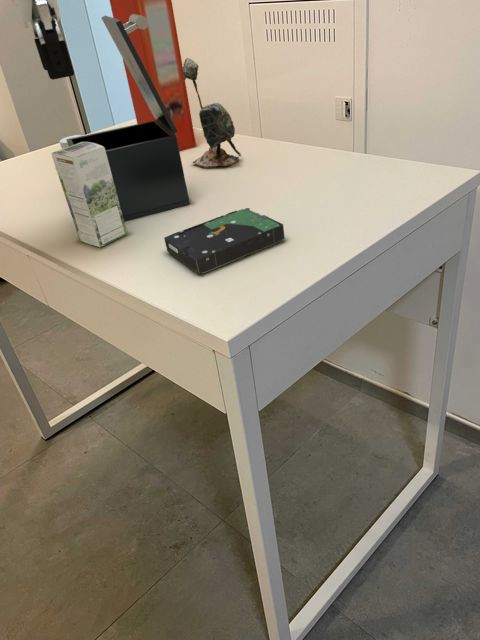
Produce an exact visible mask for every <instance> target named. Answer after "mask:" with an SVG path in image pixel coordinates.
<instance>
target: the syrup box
mask: <svg viewBox="0 0 480 640" xmlns="http://www.w3.org/2000/svg"><path fill="white" fill-rule="evenodd" d="M51 158H52V160H53V164H54V167H55V169H56V172H57V176H58V179H59V182H60V185H61V188H62V191H63V195H64V197H65V200H66V203H67V206H68V209H69V212H70V215H71V218H72V222H73V225H74V227H75V231H76V234H77V237H78V240H79V241H80V242H82V243H85V244H87V245H91V246H94V247H98V248H103V247H104V246H107V245H108V244H111V243H113V242H115V241H116V240H118V239H120V238H122V237H124V236H126V235H128V230H127V227H126V224H125V221H124V219H123V215H122V211H121V208H120V204H119V200H118V196H117V193H116V189H115V185H114V181H113V177H112V174H111V170H110V166H109V162H108V159H107V155H106V151H105V148H104V147H103V146H101V145H98V144H95V143H91V142H80V143H78V144H75V145H72V146H69V147H67V148H64V149H62V148H61V149H58V150H56V151H53V152H51Z"/></svg>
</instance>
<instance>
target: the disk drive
mask: <svg viewBox="0 0 480 640" xmlns="http://www.w3.org/2000/svg"><path fill="white" fill-rule="evenodd" d="M250 209H251V208H250V207H246V208H241V209H239V210H233V211H230V212H228V213H226V214H224V215H220V216H217V217H215V218H212V219H210V220H206V221H204V222H202V223H198V224H196V225H194V226H191V227H190V226H189V227H188V228H185V229H183V230H179V231H177V232H173V233H171V234H169V235H167V236H164V237H163V239H164V243H165V247H166V251H167V252H168V253H169V254H170V255H171V256H173V257H174V258H176V259H177V260H178V261H180V262H181V263H183V264H184V265H185V266H187V267H188V268H190V269H191V270H192V271H194V272H196V273H197V274H199V275H201V274H204V273H207V272H210V271H212V270H215V269H218V268H220V267H222V266H226V265H227V264H229V263H232V262H234V261H237V260H239V259H242V258H243V257H245V256H248V255H251V254H254V253H256V252H259V251H261V250H264V249H266V248H268V247H271V246H273V245H276V244H278V243H280V242H281V241H283V240H285V228H284V223H281V222H279V221H278V220H275V219H273V218H271V217H269V216H268V215H265V214H263V215H262V214H260V213H258V212H256V211H254V210H250Z"/></svg>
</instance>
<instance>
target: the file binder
mask: <svg viewBox="0 0 480 640" xmlns="http://www.w3.org/2000/svg"><path fill="white" fill-rule="evenodd" d="M108 1H109V5H110V8H111V13H112V18H115V19H119V20H121V22H122V24H125V23H127V22H128V21H129V17H130V16H131V15H132V14H136V15H140V16H144V17H146V19H147V20H148V27H147V28H146V29H144V30H141V29H136V30H134V31H132V32H131V33H129V34H128V36H129V38H130V40H131V42H132V44H133V45H134V47H135V49H136V51H137V53H138V55H139V57H140V59H141V61H142V63H143V65H144V67H145V69H146V71H147V73H148V75H149V77H150V79H151V80H152V82H153V84H154V86H155V88H156V90H157V92H158V94H159V96H160V98H161V100H162V102H163V104H164V106H165V108H166V110H167V112H168V113H169V115H170V117H171V119H172V121H173V123H174V125H175V127H176V129H177V131H178V132H176V133H175V135H176V137H177V142H178V147H179V152H180V151H183V150H184V151H185V150H188V149H193V148H196V145H197V143H196V136H195V131H194V125H193V119H192V113H191V107H190V102H189V95H188V90H187V84H186V80H185V81H183V79H184V74H183V73H182V68H183V66H184V64H183V61H182V55H181V48H180V44H179V36H178V31H177V25H176V19H175V13H174V6H173V1H172V0H108ZM122 63H123V66H124V72H125V76H126V80H127V84H128V89H129V93H130V98H131V102H132V107H133V111H134V116H135V120H136V124H140V123H145V122H150V121H154V120H157V119H155V118H154V116H153V114H152V112H151V110H150V108H149V106H148V104H147V103H146V101H145V99H144V97H143V95H142V93H141V91H140V89H139V88H138V86H137V84H136V82H135V80H134V78H133V76H132V74H131V73H130V71H129V69H128V67H127V65H126V63H125V61H124V60H123V59H122Z"/></svg>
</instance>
